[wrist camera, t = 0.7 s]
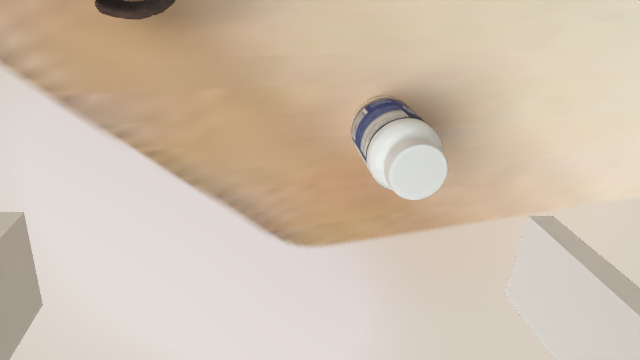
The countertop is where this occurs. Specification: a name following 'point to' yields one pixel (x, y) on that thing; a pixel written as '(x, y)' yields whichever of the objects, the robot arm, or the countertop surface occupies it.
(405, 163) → the pill bottle
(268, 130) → the countertop surface
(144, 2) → the brown curved piece
